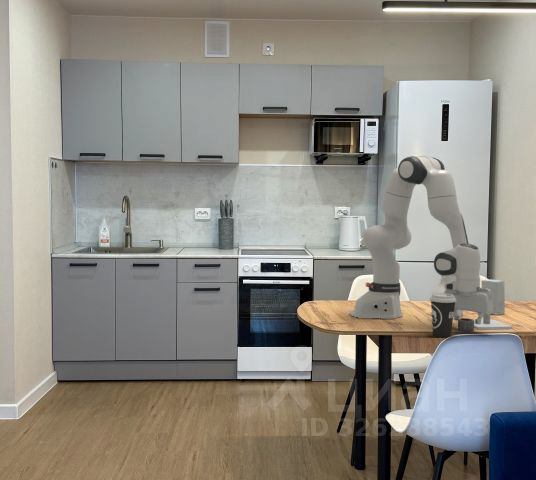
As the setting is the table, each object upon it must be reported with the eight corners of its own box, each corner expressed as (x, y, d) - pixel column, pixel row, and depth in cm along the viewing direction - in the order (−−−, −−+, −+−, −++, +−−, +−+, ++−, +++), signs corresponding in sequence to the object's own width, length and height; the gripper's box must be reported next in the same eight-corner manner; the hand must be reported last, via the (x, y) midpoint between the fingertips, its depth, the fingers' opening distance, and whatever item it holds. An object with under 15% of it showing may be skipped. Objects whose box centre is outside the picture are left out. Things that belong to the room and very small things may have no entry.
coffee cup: (448, 339, 232) (449, 297, 231) (424, 335, 239) (425, 294, 238) (460, 335, 239) (461, 294, 238) (436, 331, 246) (437, 292, 245)
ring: (461, 331, 245) (462, 321, 245) (455, 328, 251) (455, 318, 251) (476, 331, 246) (477, 321, 246) (469, 328, 252) (469, 318, 252)
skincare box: (504, 314, 284) (506, 280, 283) (496, 315, 280) (497, 281, 279) (488, 311, 291) (490, 278, 290) (480, 312, 287) (481, 279, 286)
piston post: (478, 329, 250) (478, 314, 249) (462, 322, 263) (462, 308, 263) (511, 329, 252) (512, 313, 251) (494, 322, 265) (494, 307, 265)
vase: (426, 311, 288) (427, 267, 286) (457, 311, 289) (459, 267, 288) (438, 317, 274) (439, 270, 272) (470, 317, 275) (472, 270, 274)
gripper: (496, 288, 241) (496, 325, 242) (450, 283, 257) (450, 317, 258) (487, 289, 237) (486, 327, 238) (440, 284, 253) (440, 319, 254)
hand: (467, 322), depth 248 cm, fingers open, 8 cm apart
